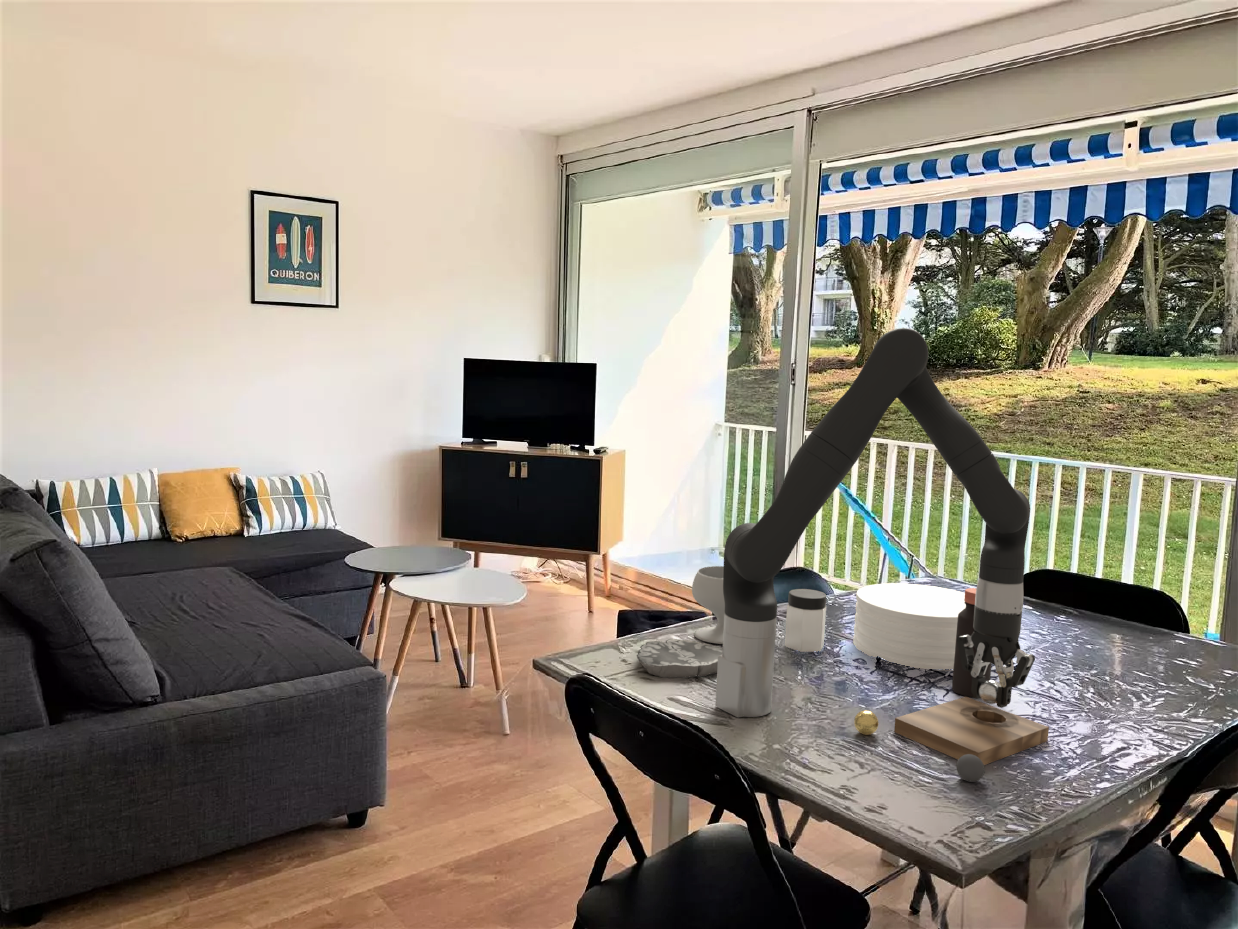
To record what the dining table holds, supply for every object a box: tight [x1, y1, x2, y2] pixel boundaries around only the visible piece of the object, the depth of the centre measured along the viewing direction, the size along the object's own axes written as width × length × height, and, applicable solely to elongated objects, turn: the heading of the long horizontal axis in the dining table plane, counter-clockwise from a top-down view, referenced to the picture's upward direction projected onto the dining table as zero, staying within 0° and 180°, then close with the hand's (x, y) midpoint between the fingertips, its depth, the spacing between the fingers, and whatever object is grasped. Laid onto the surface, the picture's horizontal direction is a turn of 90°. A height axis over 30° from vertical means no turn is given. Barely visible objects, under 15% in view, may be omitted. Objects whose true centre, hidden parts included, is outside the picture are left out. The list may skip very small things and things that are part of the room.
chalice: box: [691, 565, 725, 645], centre depth 207 cm, size 14×14×15 cm
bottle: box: [951, 587, 992, 699], centre depth 178 cm, size 7×7×20 cm
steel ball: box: [979, 679, 1000, 705], centre depth 160 cm, size 4×4×4 cm
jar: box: [784, 588, 827, 653], centre depth 203 cm, size 9×8×12 cm
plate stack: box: [852, 582, 966, 671], centre depth 204 cm, size 28×28×12 cm
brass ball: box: [853, 709, 879, 736], centre depth 157 cm, size 4×4×4 cm
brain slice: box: [636, 638, 723, 678], centre depth 188 cm, size 20×17×3 cm
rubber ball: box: [956, 754, 985, 783], centre depth 140 cm, size 4×4×4 cm
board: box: [893, 696, 1050, 766], centre depth 157 cm, size 20×16×2 cm
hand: (990, 701), depth 160 cm, fingers closed on steel ball, 4 cm apart
